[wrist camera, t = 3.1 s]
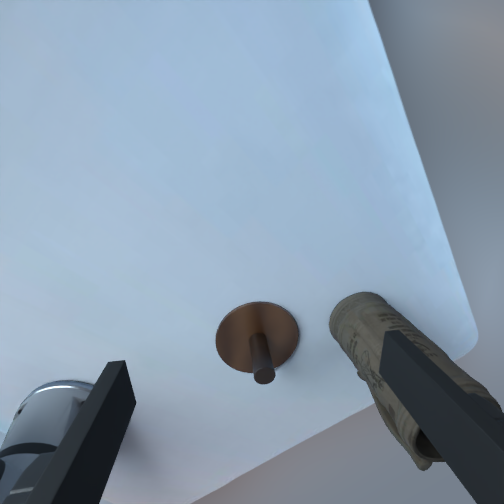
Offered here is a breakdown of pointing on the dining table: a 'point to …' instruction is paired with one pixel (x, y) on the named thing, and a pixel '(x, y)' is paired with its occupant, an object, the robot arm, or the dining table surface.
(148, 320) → the dining table surface
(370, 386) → the beer stein
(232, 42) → the dining table surface
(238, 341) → the lid
